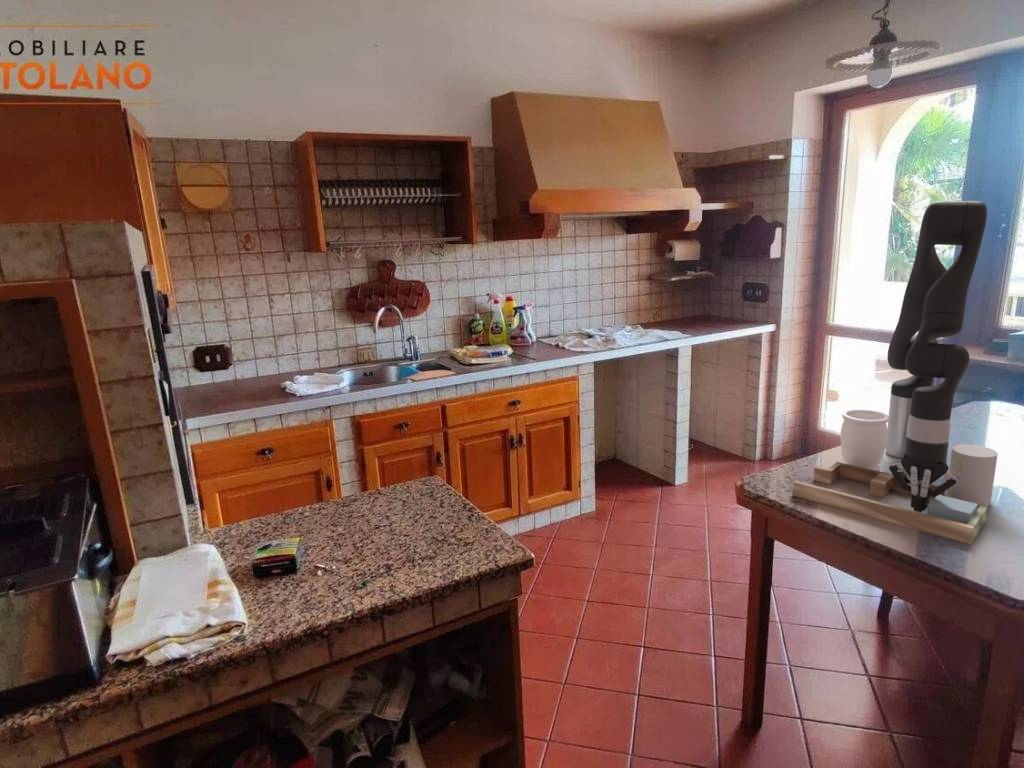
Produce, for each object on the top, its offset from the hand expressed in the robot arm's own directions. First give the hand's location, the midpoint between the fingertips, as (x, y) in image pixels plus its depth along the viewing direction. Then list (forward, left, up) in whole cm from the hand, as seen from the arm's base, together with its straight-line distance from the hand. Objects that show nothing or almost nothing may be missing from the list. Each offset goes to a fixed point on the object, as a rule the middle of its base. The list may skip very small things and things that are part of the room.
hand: (918, 510), depth 130 cm
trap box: (-3, -7, -2) cm, 8 cm away
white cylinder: (-17, +6, -2) cm, 17 cm away
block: (0, +6, -2) cm, 6 cm away
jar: (-21, -18, -2) cm, 28 cm away
